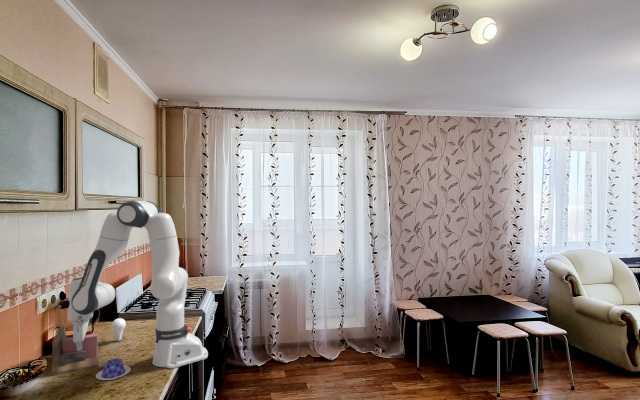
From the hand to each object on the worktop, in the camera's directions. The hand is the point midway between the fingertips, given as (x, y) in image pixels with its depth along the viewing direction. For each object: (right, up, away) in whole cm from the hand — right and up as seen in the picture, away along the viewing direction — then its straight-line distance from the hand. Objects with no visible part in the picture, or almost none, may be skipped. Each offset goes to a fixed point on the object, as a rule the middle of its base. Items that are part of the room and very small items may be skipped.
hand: (80, 346), depth 152 cm
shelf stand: (-1, -6, -1) cm, 6 cm away
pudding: (+21, -6, -12) cm, 25 cm away
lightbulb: (+4, -7, +22) cm, 23 cm away
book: (0, -5, 0) cm, 5 cm away
